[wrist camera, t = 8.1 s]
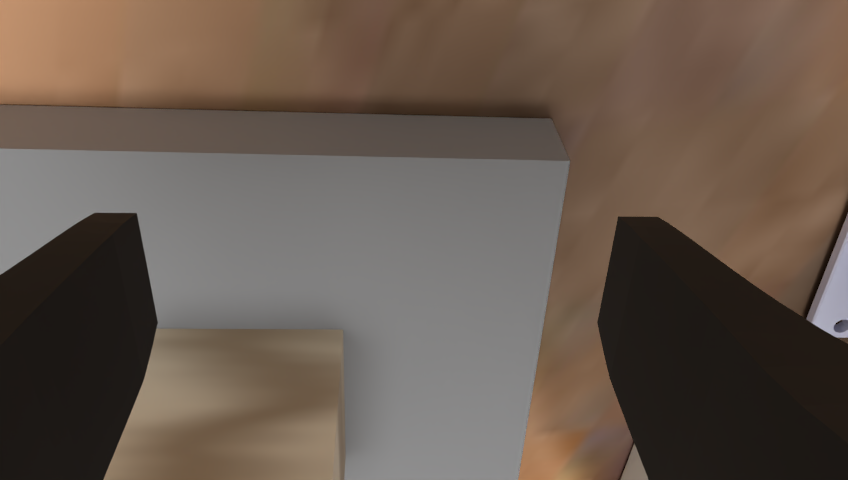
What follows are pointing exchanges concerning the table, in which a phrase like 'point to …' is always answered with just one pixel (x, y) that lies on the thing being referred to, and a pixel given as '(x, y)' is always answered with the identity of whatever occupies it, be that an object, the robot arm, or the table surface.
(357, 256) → the slate plinth
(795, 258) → the table surface
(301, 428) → the maple block
